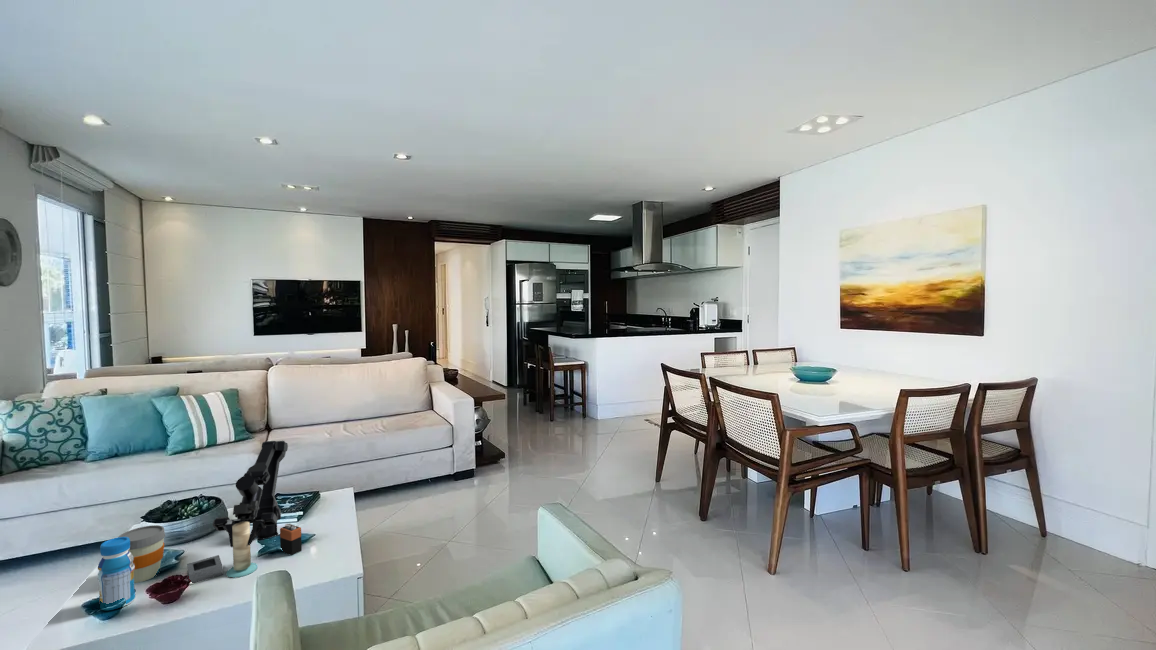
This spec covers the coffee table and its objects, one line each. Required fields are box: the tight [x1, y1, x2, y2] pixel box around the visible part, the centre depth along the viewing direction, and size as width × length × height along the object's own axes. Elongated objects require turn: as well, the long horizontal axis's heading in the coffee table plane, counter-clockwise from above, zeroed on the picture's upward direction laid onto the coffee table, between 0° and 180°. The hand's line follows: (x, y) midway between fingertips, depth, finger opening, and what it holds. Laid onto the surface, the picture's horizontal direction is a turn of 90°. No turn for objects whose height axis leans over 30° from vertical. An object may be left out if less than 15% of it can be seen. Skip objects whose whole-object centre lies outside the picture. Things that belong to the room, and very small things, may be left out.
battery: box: [279, 523, 303, 556], centre depth 186 cm, size 4×7×10 cm, turn 63°
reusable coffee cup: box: [118, 524, 166, 584], centre depth 169 cm, size 12×13×15 cm
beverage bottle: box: [97, 536, 136, 606], centre depth 153 cm, size 8×8×20 cm
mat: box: [225, 562, 258, 579], centre depth 172 cm, size 9×9×1 cm
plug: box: [232, 522, 252, 570], centre depth 172 cm, size 5×5×15 cm
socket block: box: [186, 554, 223, 584], centre depth 170 cm, size 9×9×4 cm
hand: (240, 545), depth 171 cm, fingers closed on plug, 5 cm apart
